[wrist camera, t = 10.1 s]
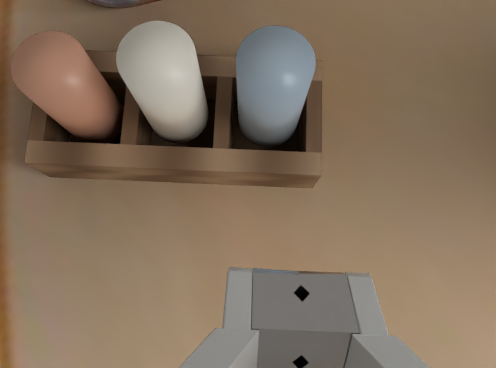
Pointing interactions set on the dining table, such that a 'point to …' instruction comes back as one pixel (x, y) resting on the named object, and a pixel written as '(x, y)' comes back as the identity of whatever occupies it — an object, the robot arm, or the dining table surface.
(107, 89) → the salmon pink capsule
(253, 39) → the blue grey capsule
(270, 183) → the three candle holder
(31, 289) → the dining table surface
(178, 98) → the white pillar candle
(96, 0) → the tin
